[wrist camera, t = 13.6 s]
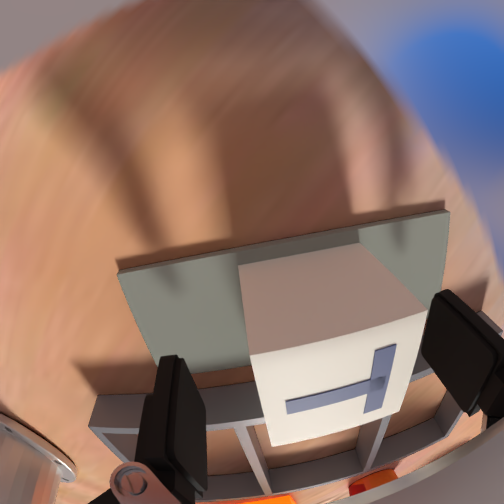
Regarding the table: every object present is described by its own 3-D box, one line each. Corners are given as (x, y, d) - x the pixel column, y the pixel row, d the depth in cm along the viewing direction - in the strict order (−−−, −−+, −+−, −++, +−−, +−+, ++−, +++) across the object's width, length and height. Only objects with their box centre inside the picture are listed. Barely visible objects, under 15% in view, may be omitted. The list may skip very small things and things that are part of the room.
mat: (163, 371, 14) (162, 376, 14) (119, 270, 11) (116, 274, 11) (432, 311, 14) (435, 315, 14) (445, 209, 12) (450, 211, 11)
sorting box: (172, 479, 20) (171, 501, 18) (98, 395, 15) (87, 426, 12) (437, 418, 20) (447, 436, 18) (481, 310, 15) (503, 330, 13)
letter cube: (238, 265, 11) (249, 356, 7) (359, 242, 12) (428, 311, 7) (257, 357, 14) (272, 448, 9) (356, 335, 14) (399, 412, 9)
